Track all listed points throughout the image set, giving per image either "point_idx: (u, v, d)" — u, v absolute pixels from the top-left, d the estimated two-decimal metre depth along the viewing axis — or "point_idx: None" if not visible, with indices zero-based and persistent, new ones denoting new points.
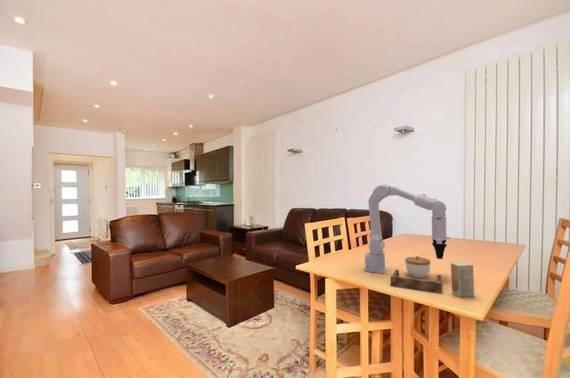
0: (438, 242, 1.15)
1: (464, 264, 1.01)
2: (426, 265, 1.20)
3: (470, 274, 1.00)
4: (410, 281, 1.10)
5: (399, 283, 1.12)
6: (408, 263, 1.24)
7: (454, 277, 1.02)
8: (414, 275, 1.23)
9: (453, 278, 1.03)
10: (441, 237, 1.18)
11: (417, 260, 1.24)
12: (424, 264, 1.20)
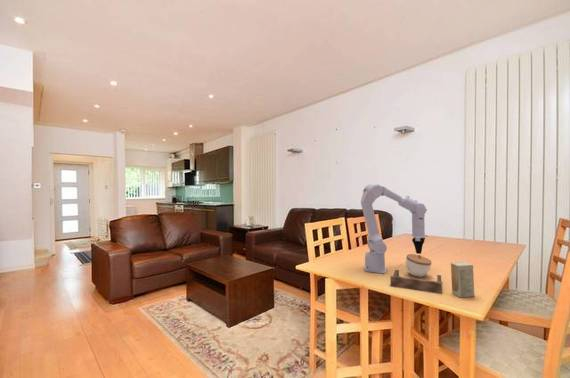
0: (416, 239, 1.30)
1: (464, 264, 1.01)
2: (422, 265, 1.20)
3: (470, 274, 1.00)
4: (410, 281, 1.10)
5: (399, 283, 1.12)
6: (407, 259, 1.26)
7: (454, 277, 1.02)
8: (410, 271, 1.25)
9: (453, 278, 1.03)
10: (420, 235, 1.33)
11: (417, 258, 1.24)
12: (420, 263, 1.20)
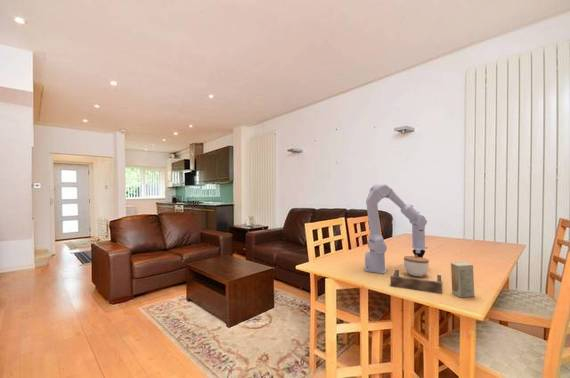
0: (417, 251, 1.30)
1: (464, 264, 1.01)
2: (417, 263, 1.22)
3: (470, 274, 1.00)
4: (410, 281, 1.10)
5: (399, 283, 1.12)
6: (404, 259, 1.28)
7: (454, 277, 1.02)
8: (408, 272, 1.26)
9: (453, 278, 1.03)
10: (420, 247, 1.33)
11: (413, 258, 1.26)
12: (415, 261, 1.22)
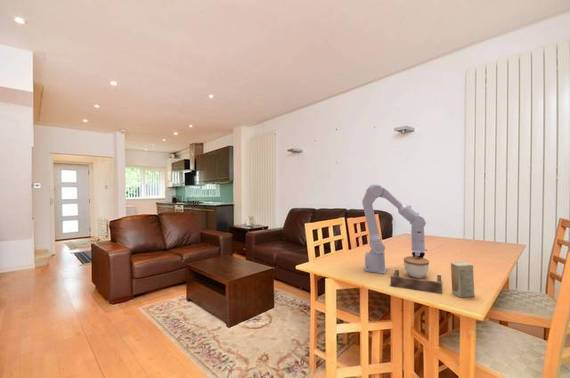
0: (416, 254, 1.25)
1: (464, 264, 1.01)
2: (417, 265, 1.20)
3: (470, 274, 1.00)
4: (410, 281, 1.10)
5: (399, 283, 1.12)
6: (404, 261, 1.27)
7: (454, 277, 1.02)
8: (408, 273, 1.25)
9: (453, 278, 1.03)
10: (419, 249, 1.28)
11: (413, 259, 1.24)
12: (414, 264, 1.20)
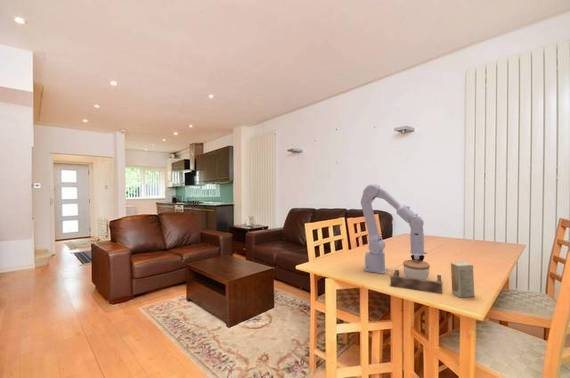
0: (415, 257, 1.19)
1: (464, 264, 1.01)
2: (417, 270, 1.14)
3: (470, 274, 1.00)
4: (410, 281, 1.10)
5: (399, 283, 1.12)
6: None
7: (454, 277, 1.02)
8: None
9: (453, 278, 1.03)
10: (419, 252, 1.22)
11: (413, 263, 1.18)
12: (415, 268, 1.14)
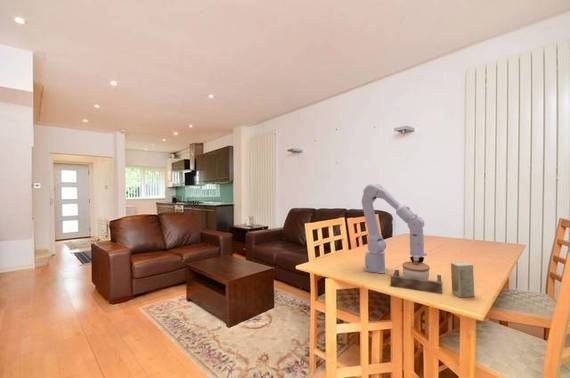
0: (415, 259, 1.16)
1: (464, 264, 1.01)
2: (417, 272, 1.11)
3: (470, 274, 1.00)
4: (410, 281, 1.10)
5: (399, 283, 1.12)
6: None
7: (454, 277, 1.02)
8: None
9: (453, 278, 1.03)
10: (418, 254, 1.20)
11: (412, 265, 1.15)
12: (414, 270, 1.12)
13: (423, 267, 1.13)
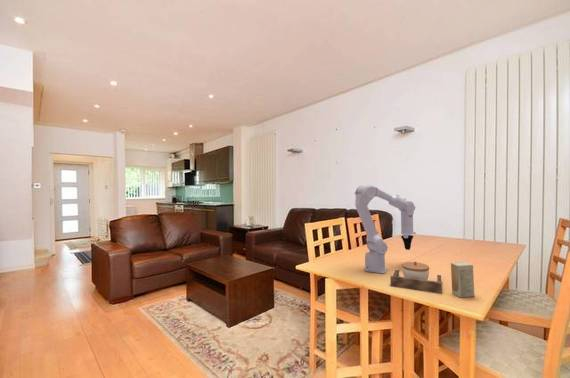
0: (405, 236, 1.33)
1: (464, 264, 1.01)
2: (417, 272, 1.12)
3: (470, 274, 1.00)
4: (410, 281, 1.10)
5: (399, 283, 1.12)
6: None
7: (454, 277, 1.02)
8: None
9: (453, 278, 1.03)
10: (408, 232, 1.36)
11: (412, 265, 1.16)
12: (414, 270, 1.12)
13: (423, 267, 1.13)
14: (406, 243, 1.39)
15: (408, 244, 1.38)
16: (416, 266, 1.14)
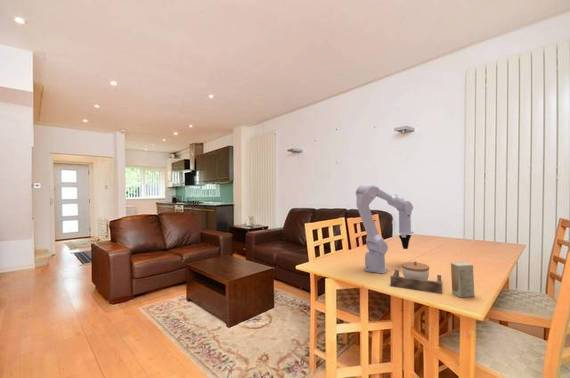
0: (402, 236, 1.35)
1: (464, 264, 1.01)
2: (417, 272, 1.12)
3: (470, 274, 1.00)
4: (410, 281, 1.10)
5: (399, 283, 1.12)
6: None
7: (454, 277, 1.02)
8: None
9: (453, 278, 1.03)
10: (406, 232, 1.38)
11: (412, 265, 1.16)
12: (414, 270, 1.12)
13: (423, 267, 1.13)
14: (404, 242, 1.40)
15: (406, 243, 1.40)
16: (416, 266, 1.14)
